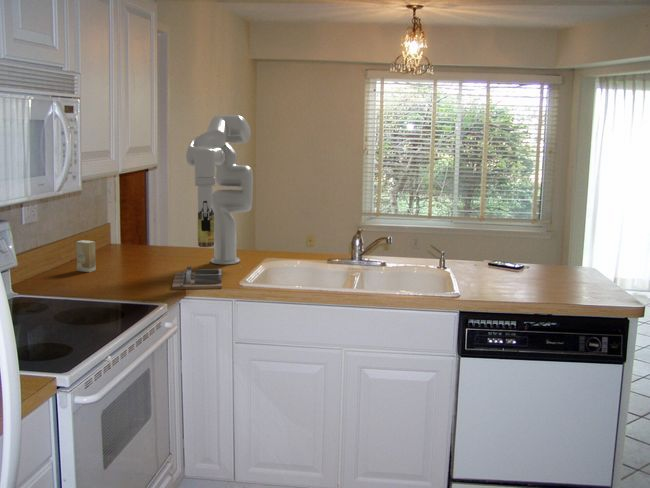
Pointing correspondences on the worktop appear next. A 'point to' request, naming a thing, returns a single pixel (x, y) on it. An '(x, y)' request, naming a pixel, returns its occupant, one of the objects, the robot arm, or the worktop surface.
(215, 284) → the board
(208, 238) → the sauce bottle
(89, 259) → the skincare box
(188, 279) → the gate
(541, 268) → the worktop surface
